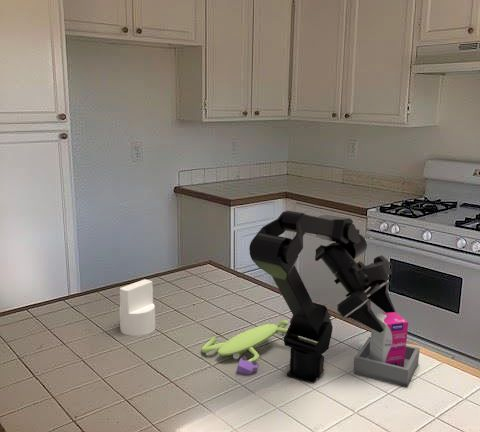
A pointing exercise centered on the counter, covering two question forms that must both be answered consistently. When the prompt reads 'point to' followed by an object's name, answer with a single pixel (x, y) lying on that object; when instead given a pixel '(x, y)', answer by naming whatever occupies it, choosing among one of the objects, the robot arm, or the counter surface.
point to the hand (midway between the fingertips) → (388, 323)
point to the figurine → (246, 345)
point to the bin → (386, 366)
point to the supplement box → (389, 339)
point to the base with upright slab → (137, 308)
